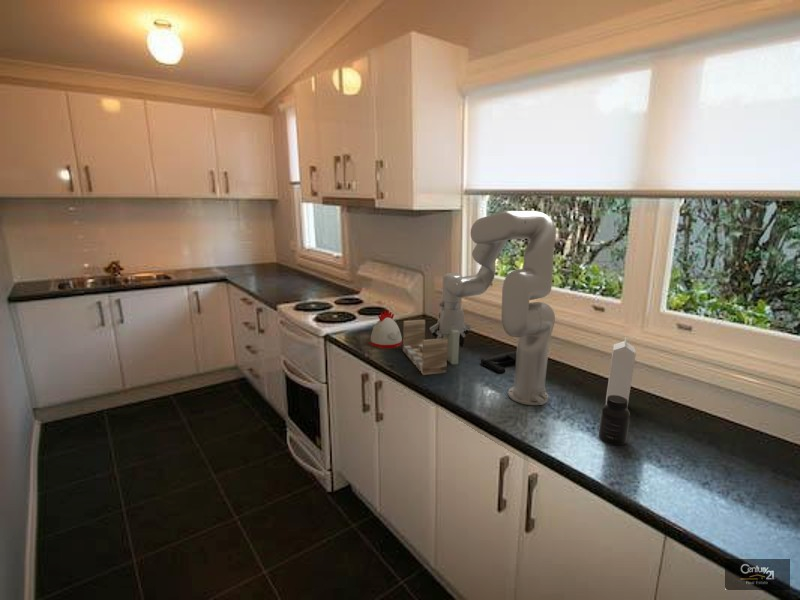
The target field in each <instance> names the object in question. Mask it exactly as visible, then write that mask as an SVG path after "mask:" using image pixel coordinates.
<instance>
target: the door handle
mask: <svg viewBox="0 0 800 600" xmlns="http://www.w3.org/2000/svg"><path fill="white" fill-rule="evenodd" d="M516 354H517V350H513V351H508V352H504V353H499V354H495V355H490V356H486V357H482V358H481V359H480V364H481V365H482V366H485V367H486V368H488V369H490V370H492V371H494V372H495V373H496V372H497V374H498V373H499V374H504V373H505V372H506V368H508V367H512V366H516ZM503 367H504V368H503Z"/></svg>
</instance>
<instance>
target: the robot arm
mask: <svg viewBox="0 0 800 600" xmlns="http://www.w3.org/2000/svg"><path fill="white" fill-rule="evenodd" d="M556 232H557V231H556V226H555V223H554V221H553V220H552V218H550V216H549V215H547V214H546V213H544V212H542V211H538V210H507V211H501V212H497V213H495V214H494V213H493V214H491V215H487V216H484V217H481V218H478V219H477V220H476V221H474V223H473V224H472V226H471V228H470V237H471V240H472V242H473V243H475V246H474V248H473V250H472V251H471V256H472V259H473V260H474V261H475V262H476V263H477V264H478V265H480V269H478V271H477V273H476V274H474V275H466V276H462V274H459V273H457V272H456V273H453V272H451V273H450V272H447V273H445V274H444V275H443V276H442V291H441V293H442V295H441V301H440V302H438V307H440V308H439V311H438V316H437V323H435V324H433V325H432V326H429V332H430V333H431V335H433V336H434V338H435V339H439V338H441V336H442V335H450V330H458V331H459V332H460V335H459V347H461V348H462V347H463V346H464V343H465V337H466V335H467V334H469V331H470V329H471V328H472V326H471V325H470V324H469V323H466V322H465V313H464V308H462V299H463V298H467V297H468V298H469V297H474V296H480V295H483V294H484V293H485V292H486V291H487V290H489V287H490V286H491V284H492V283H493V281H494V279H495V275H496V266H495V265H496V264H495V262H496V260H497V259H498V257H499V255H500V254H501V252H502V251H503V249H504V247H505V246H506V244H507V242H508V241H510V240H522V239H525V240H526V239H528V240H529V242H528V243H527V245H526V247H525V250H524V254H523V266H522V269H521V268H520V269H515V270H512V271H511V272H509V273H508V274H507V275H506V277H505V278H504V280H503V284H502V289H501V290H502V292H501V324H502V325H501V326H502V328H503V330H504V332H505V333H506V335H508V336H510V337H512V338H518V341H517V344H516V345H517V346H516V351H517V354H516V365H514V366H515V369H514V379H513V386H512V387H510V388H509V389H508V392H507V394H508V397H510V399H511V400H512V401H514V402H517V403H519V404H521V405H522V404H523V405H527V406H540V405H541V406H542V405H545V404H546V403H547V402H548V401H549V400H550V398H549V394H548V392H546V390H547V389H546V388H545V387H546V377H547V368H548V367H547V366H548V358H549V357H548V356H549V349H550V340H551V337H552V333H553V330H554V327H555V322H556V314H555V312H554V309H553V308H552V307H551V305H549V304H547V303H546V302H543V301H542V302H541V301H534V300H537V299H542V298H545V297H547V296H549V294H550V292H551V291H552V288H553V287H552V286H553V275H554V273H553V272H554V270H553V269H554V251H555V244H556V238H557V235H556V234H557V233H556ZM532 300H533V302H530V301H532ZM436 329H437V332H436V331H435V330H436Z"/></svg>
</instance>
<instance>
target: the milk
mask: <svg viewBox="0 0 800 600" xmlns="http://www.w3.org/2000/svg"><path fill="white" fill-rule="evenodd" d="M636 352H637V351H636V348H635V347H634V346H633V345H632V344H630V343H629V342H627V336H625V338H624V340H623V341H620V342H618V343H617V342H616V343H614V344H613V346H612V352H611V353H612V355H611V359H610V367H609V373H608V374H609V375H608V381H607V382H608V383H607V387H606V394H605V395H606V396H605V405H606V404H607V398H608V396H610V395H617V396H621V397H624V398H626V399H627V401H628V403H627V408H628V406H629V405H628V404H629V402H630V401H629V400H630V399H629V398H630V393H631V387H632V380H633V374H634V367H635V361H636V355H637V353H636Z"/></svg>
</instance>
